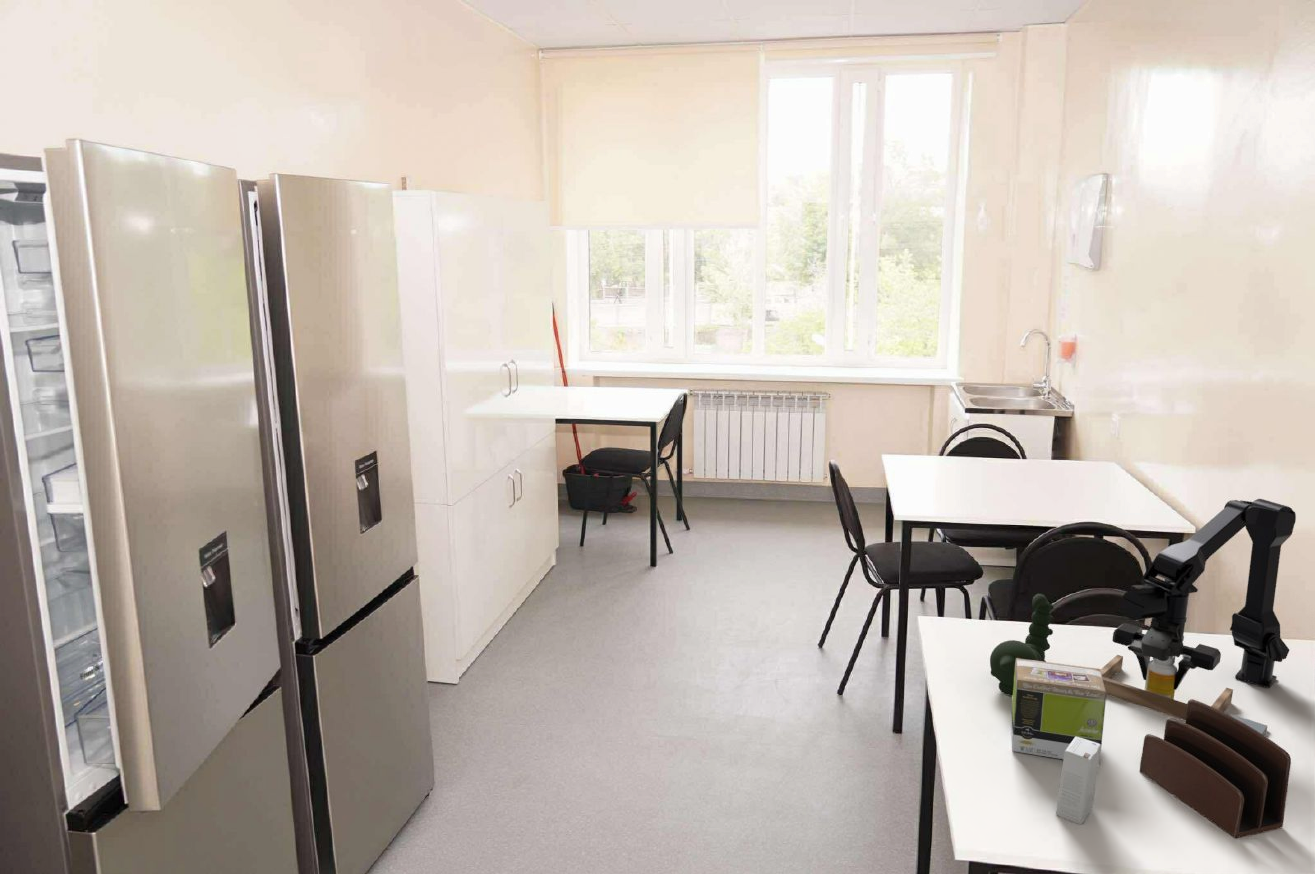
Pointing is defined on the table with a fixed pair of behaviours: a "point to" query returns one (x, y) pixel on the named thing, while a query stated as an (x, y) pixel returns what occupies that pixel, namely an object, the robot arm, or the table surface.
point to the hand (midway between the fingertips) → (1160, 684)
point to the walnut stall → (1150, 698)
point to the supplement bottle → (1161, 677)
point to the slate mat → (1251, 724)
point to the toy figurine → (1023, 646)
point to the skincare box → (1078, 779)
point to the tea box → (1055, 707)
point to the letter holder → (1220, 770)
